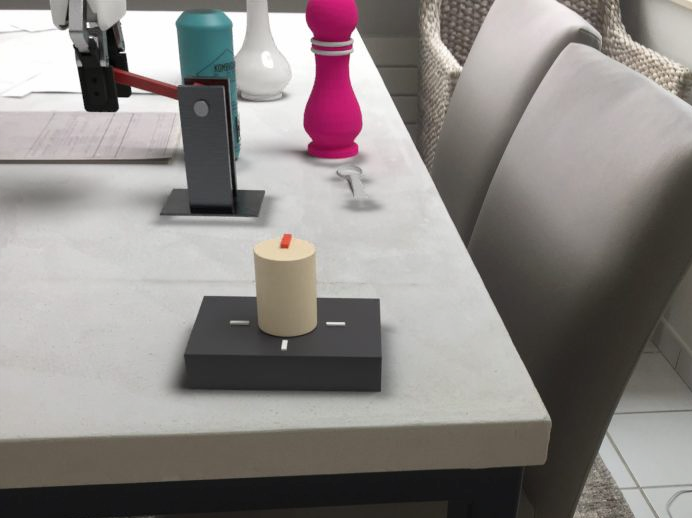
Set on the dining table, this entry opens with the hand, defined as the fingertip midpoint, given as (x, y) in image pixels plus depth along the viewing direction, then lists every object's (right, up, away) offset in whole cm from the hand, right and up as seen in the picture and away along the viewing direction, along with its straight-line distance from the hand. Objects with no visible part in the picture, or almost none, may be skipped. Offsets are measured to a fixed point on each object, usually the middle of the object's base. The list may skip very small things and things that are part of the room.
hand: (109, 101), depth 88 cm
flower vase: (+9, +23, +48) cm, 54 cm away
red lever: (+5, 0, 0) cm, 5 cm away
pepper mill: (+21, +3, +23) cm, 31 cm away
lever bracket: (+9, -9, +7) cm, 14 cm away
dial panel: (+20, -29, -19) cm, 40 cm away
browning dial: (+20, -26, -21) cm, 39 cm away
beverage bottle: (+7, +1, +20) cm, 21 cm away
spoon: (+24, -4, +13) cm, 28 cm away
